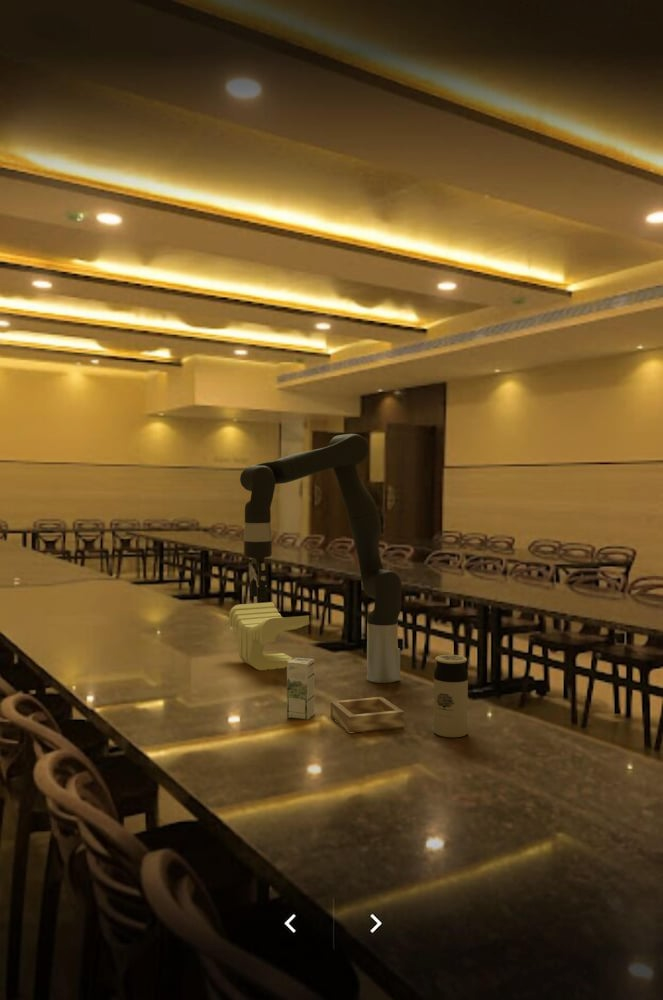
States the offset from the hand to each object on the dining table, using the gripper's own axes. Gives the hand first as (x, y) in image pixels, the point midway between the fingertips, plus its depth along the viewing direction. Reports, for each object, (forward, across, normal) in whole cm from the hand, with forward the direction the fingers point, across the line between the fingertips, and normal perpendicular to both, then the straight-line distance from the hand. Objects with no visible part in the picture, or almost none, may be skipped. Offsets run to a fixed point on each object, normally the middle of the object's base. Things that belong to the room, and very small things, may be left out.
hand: (258, 598), depth 216 cm
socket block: (+28, -27, -22) cm, 45 cm away
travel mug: (+28, -41, -38) cm, 62 cm away
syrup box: (+28, -18, -7) cm, 34 cm away
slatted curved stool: (+28, +40, -12) cm, 51 cm away
